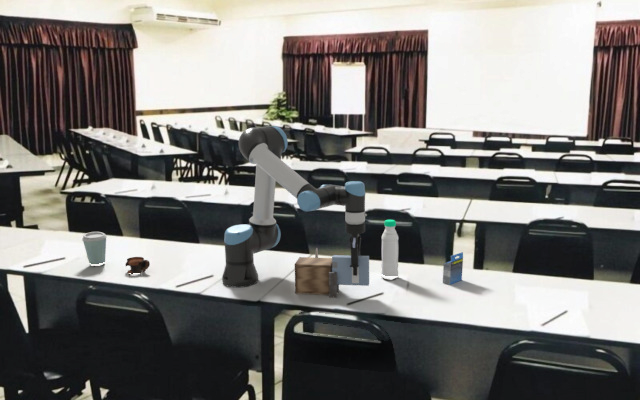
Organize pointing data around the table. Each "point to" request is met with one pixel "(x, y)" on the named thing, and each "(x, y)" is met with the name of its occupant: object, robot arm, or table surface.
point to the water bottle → (390, 249)
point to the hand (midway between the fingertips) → (355, 281)
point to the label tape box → (453, 269)
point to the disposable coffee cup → (95, 246)
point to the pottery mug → (137, 264)
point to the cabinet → (315, 277)
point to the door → (350, 269)
